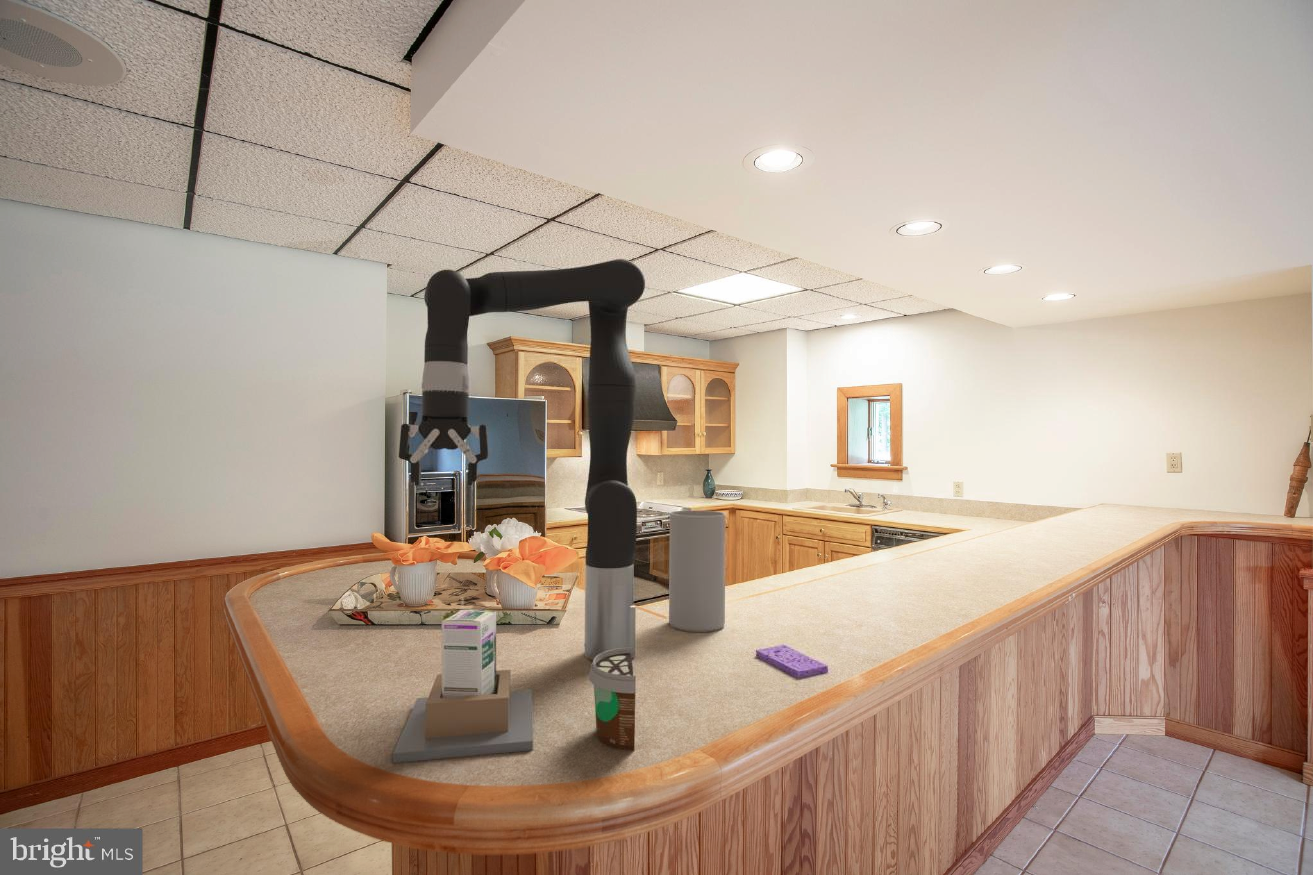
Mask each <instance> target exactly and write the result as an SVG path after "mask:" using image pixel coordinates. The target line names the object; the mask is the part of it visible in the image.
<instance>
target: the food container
mask: <svg viewBox="0 0 1313 875" xmlns="http://www.w3.org/2000/svg"><path fill="white" fill-rule="evenodd" d="M632 659H633V658H632V647H627V648H618V649H613V650H609V651H605V652H603V653H601V654H599V655H597V656H596V657H595V658H594V660H592V663H591V665H590V669H589V674H588V680H589V681H590V684H592V685H593V692H594V711H595V727H596V729H595V730H596V738H597V740H598V741H599V743H601V744H602V745H603V746H606V747H607V748H612V749H614V750H620V751H635V746H636V744H635V737H636V733H635V730H636V690H637V689H636V687H637V686H636V680H637V679H636V675H634V667H633V660H632Z"/></svg>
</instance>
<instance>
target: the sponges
mask: <svg viewBox="0 0 1313 875" xmlns="http://www.w3.org/2000/svg"><path fill="white" fill-rule="evenodd" d="M755 657H756V658H759V659H760V660H761V661H764V662H766V663H767V664H770V665H772V666H773V667H775V668H777V669H779V670H781V671H783V672H785V673H787V674H789V675H790V676H793V677H794V678H796V679H797V678H798V679H803V678H806V677H812V676H815V675H821V674H826V673H829V667H828V666H829V665H828V664H825V663H823V662H821V661H819V660H817V659H815V658H812V657H810V656H808V655H806V654H804V653H801V652H800V651H798V650H796V649H794V648H791V647H790V646H788V645H786V644H779V645H774V646H773V647H772V646H770V647H769V646H768V647H765V648H759V649H755Z"/></svg>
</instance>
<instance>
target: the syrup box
mask: <svg viewBox="0 0 1313 875" xmlns="http://www.w3.org/2000/svg"><path fill="white" fill-rule="evenodd" d="M496 671H497V612H496V610H491V609H490V610H489V609H476V608H475V609H473V608H472V609H459V610H458V612H456V613H454V614H453V615H450V616H449V617H447V618H446V619H443V621H441V674H442V698H450V697H464V696H478V695H491V694H496Z"/></svg>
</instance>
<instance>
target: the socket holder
mask: <svg viewBox="0 0 1313 875" xmlns="http://www.w3.org/2000/svg"><path fill="white" fill-rule="evenodd" d="M511 671H512V670H511V669H502V670H500V669H499V670H496V694H491V695H478V696H464V697H450V698H442V673H440V674H438V673H437V674H436V677H435V678H434V682H433V684H432V687H431V690H430V692H429V695H428V696H426V697H417V698H416V700H415V702H414V705H413V706H412V709H411V711H410V714H409V716H408V717H407V718H408V719H407V720H406V723H405V725H404V728H403V730H402V732H401V734H400V737H399V739H398V742H397V743H396V745H395V747H394V749H393V750H394V751H393V753H392V763H393V764H397V763H407V762H409V763H411V762H421V761H430V760H440V759H441V760H442V759H451V758H453V759H454V758H462V757H463V758H464V757H472V756H483V755H486V756H487V755H494V754H496V755H497V754H505V753H517V752H527V751H533V750H534V749H533V748H534V738H533V737H534V732H533V731H534V728H533V725H534V721H533V690H532V689H525V690H511Z"/></svg>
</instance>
